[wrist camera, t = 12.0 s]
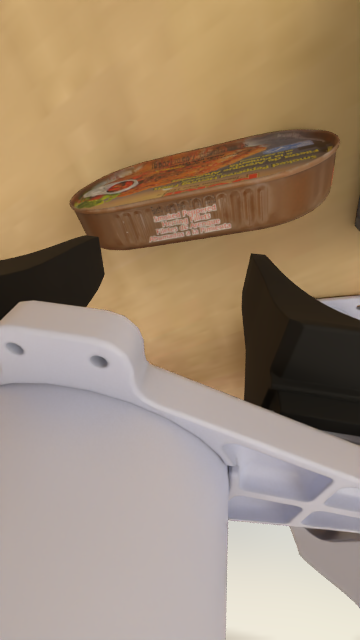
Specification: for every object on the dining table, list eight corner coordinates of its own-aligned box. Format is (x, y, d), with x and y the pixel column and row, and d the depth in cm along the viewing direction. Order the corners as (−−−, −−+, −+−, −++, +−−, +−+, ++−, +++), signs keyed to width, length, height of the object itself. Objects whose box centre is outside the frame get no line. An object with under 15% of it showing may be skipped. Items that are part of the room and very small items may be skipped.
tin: (318, 120, 17) (370, 138, 10) (314, 176, 18) (355, 222, 12) (99, 171, 20) (37, 208, 14) (114, 213, 22) (65, 263, 16)
